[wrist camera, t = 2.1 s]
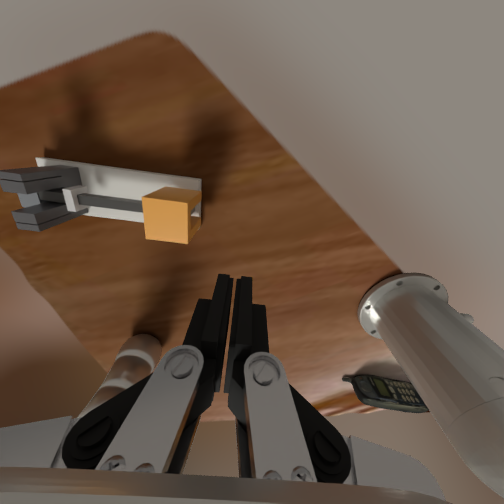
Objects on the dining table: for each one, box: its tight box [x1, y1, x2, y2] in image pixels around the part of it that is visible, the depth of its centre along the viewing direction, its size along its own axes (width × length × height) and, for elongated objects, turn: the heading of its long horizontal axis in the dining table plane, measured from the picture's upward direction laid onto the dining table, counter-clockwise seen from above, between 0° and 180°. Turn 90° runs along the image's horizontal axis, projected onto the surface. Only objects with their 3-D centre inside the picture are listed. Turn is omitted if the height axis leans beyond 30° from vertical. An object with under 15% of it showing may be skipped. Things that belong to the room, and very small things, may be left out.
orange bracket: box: [142, 186, 202, 244], centre depth 22 cm, size 4×4×6 cm
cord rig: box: [0, 157, 202, 231], centre depth 22 cm, size 18×6×8 cm, turn 83°
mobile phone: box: [342, 375, 429, 413], centre depth 39 cm, size 5×3×15 cm
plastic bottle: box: [77, 334, 162, 418], centre depth 28 cm, size 6×7×20 cm
